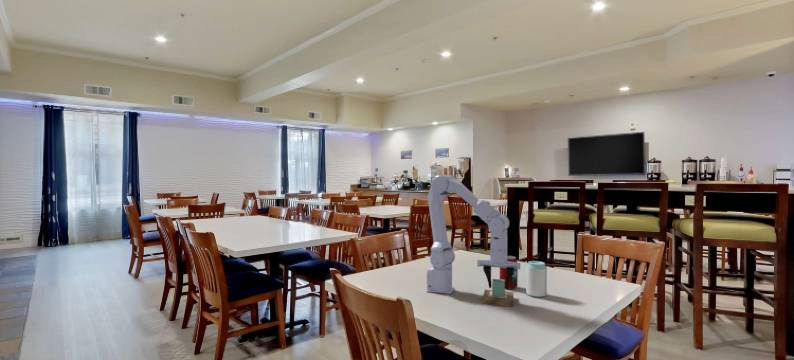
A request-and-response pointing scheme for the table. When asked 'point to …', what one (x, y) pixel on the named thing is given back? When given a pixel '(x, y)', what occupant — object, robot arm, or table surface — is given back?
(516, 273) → the beverage can
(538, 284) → the can
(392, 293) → the table surface
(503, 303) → the walnut base
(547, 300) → the table surface
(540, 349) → the table surface
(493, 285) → the teal block
